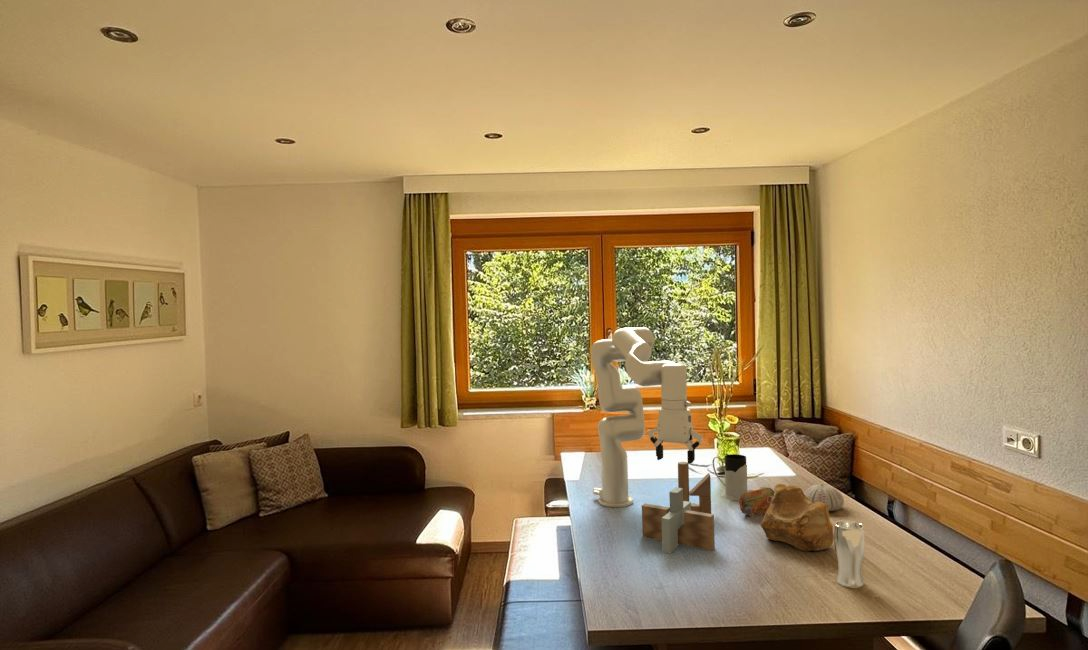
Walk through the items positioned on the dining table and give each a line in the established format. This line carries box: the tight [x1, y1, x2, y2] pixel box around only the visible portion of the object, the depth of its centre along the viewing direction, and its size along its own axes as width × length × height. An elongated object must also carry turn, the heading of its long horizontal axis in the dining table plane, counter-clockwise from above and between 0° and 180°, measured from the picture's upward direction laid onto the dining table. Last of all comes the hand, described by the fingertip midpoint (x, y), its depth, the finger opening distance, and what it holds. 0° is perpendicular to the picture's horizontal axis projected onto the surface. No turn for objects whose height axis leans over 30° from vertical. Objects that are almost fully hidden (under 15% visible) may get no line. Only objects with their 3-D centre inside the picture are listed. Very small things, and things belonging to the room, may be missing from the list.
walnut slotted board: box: [641, 503, 716, 551], centre depth 191 cm, size 22×2×10 cm, turn 57°
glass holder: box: [712, 453, 748, 502], centre depth 235 cm, size 9×14×15 cm, turn 41°
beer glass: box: [833, 519, 866, 589], centre depth 160 cm, size 7×7×15 cm
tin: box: [739, 486, 774, 517], centre depth 215 cm, size 15×3×8 cm, turn 117°
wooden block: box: [677, 461, 712, 514], centre depth 215 cm, size 4×11×18 cm, turn 83°
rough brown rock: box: [760, 483, 834, 553], centre depth 189 cm, size 23×17×15 cm
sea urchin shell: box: [803, 483, 845, 512], centre depth 219 cm, size 13×14×8 cm
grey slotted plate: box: [661, 487, 692, 554], centre depth 191 cm, size 18×2×16 cm, turn 147°
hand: (675, 460), depth 191 cm, fingers open, 9 cm apart
